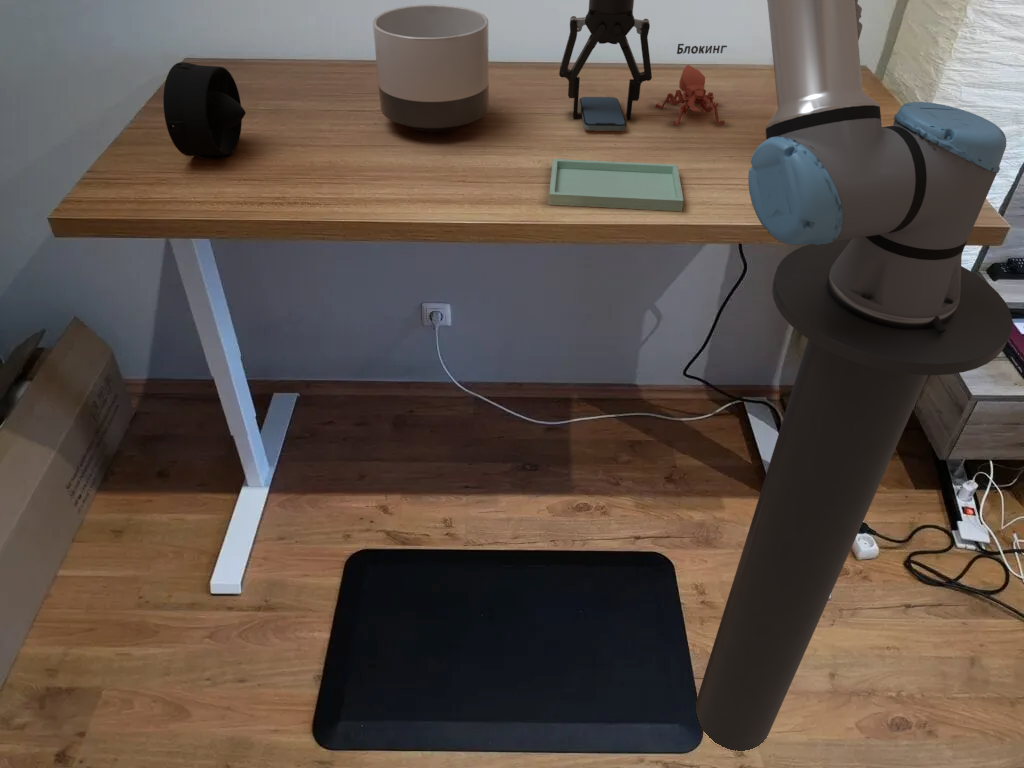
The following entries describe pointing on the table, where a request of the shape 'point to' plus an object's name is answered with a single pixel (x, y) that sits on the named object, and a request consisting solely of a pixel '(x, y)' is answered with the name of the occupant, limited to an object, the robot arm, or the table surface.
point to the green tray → (615, 185)
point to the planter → (432, 66)
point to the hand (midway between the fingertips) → (601, 116)
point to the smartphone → (602, 114)
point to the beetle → (693, 88)
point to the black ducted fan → (202, 110)
